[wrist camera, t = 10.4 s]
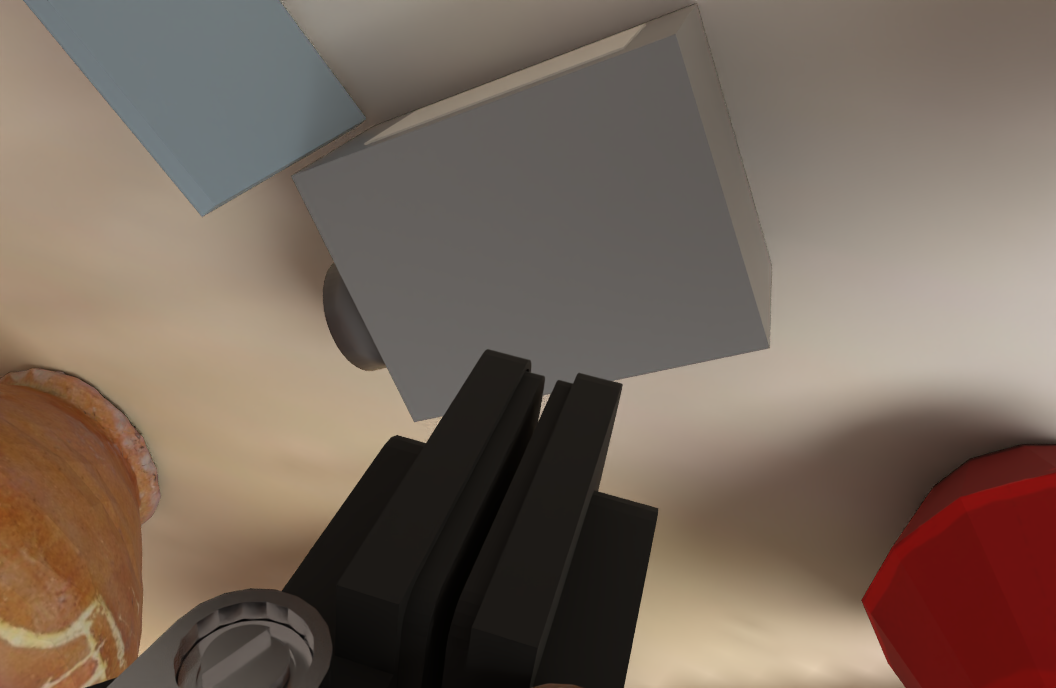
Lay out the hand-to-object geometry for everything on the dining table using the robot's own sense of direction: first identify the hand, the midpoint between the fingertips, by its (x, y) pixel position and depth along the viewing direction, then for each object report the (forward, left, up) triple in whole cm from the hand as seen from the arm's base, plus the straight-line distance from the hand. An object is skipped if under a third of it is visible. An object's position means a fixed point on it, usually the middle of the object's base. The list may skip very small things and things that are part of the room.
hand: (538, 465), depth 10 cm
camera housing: (+9, +4, -29) cm, 31 cm away
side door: (+18, -8, -29) cm, 35 cm away
